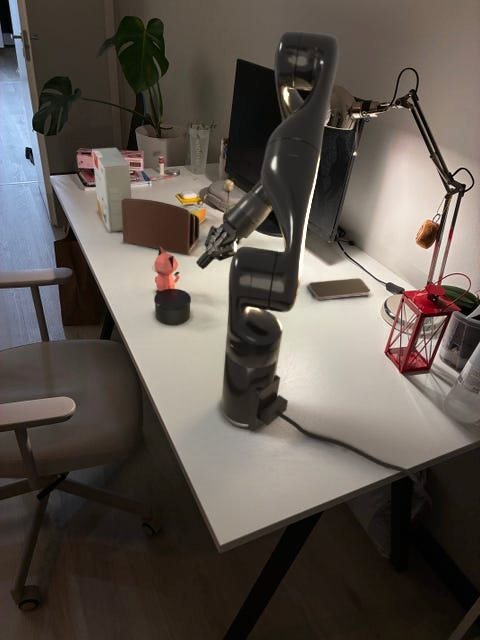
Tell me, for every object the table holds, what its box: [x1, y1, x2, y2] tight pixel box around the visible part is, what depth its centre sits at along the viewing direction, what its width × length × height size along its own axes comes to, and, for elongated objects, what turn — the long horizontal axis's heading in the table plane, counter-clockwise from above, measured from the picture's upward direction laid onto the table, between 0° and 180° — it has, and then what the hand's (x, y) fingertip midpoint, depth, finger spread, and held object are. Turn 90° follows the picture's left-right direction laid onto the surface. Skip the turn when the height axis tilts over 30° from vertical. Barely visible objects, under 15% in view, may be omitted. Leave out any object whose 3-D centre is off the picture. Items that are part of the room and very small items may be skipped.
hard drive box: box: [91, 147, 133, 233], centre depth 150 cm, size 16×8×20 cm, turn 25°
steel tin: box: [153, 288, 192, 326], centre depth 116 cm, size 8×8×5 cm
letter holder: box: [121, 198, 200, 256], centre depth 143 cm, size 10×20×14 cm, turn 76°
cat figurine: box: [153, 246, 180, 294], centre depth 121 cm, size 7×7×12 cm
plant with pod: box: [221, 179, 238, 224], centre depth 144 cm, size 8×11×20 cm
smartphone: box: [308, 277, 371, 300], centre depth 132 cm, size 7×1×15 cm
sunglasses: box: [182, 203, 207, 225], centre depth 161 cm, size 14×15×5 cm
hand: (199, 266), depth 124 cm, fingers closed
